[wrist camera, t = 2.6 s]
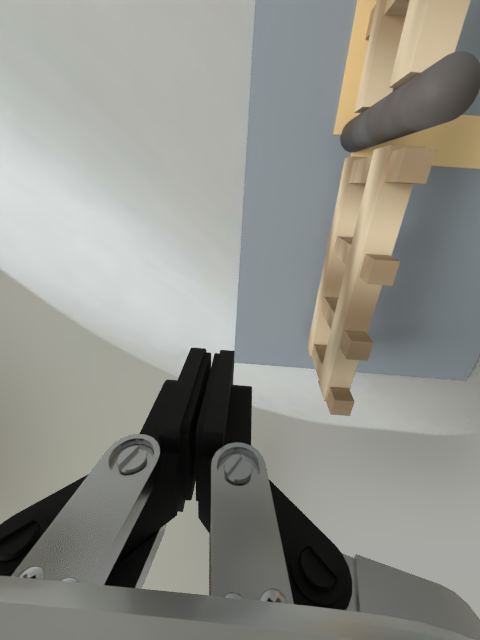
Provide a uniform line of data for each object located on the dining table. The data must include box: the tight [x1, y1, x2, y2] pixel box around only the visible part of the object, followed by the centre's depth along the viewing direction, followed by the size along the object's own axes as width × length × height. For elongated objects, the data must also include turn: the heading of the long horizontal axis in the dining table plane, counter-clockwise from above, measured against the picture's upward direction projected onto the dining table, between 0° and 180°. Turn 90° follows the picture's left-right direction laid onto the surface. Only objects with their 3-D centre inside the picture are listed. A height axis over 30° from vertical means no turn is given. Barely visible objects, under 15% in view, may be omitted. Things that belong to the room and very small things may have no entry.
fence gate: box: [307, 145, 437, 416], centre depth 15 cm, size 12×1×7 cm, turn 177°
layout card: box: [234, 0, 480, 381], centre depth 17 cm, size 26×20×1 cm
